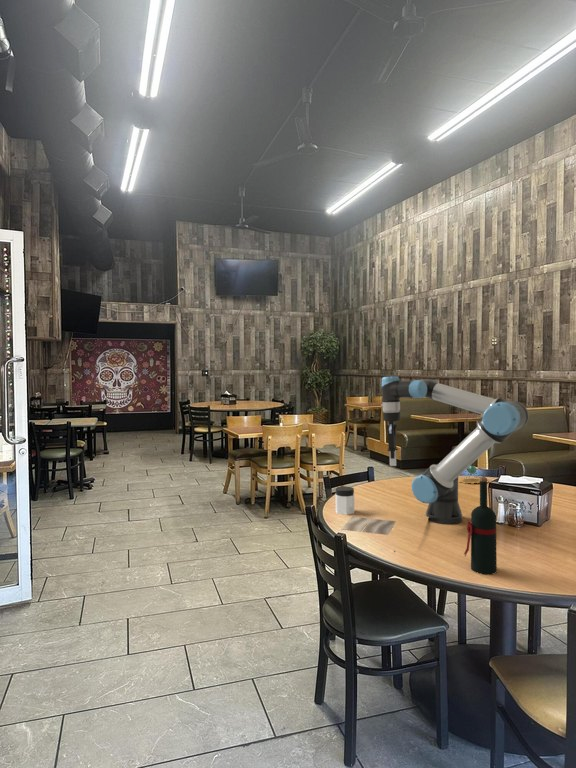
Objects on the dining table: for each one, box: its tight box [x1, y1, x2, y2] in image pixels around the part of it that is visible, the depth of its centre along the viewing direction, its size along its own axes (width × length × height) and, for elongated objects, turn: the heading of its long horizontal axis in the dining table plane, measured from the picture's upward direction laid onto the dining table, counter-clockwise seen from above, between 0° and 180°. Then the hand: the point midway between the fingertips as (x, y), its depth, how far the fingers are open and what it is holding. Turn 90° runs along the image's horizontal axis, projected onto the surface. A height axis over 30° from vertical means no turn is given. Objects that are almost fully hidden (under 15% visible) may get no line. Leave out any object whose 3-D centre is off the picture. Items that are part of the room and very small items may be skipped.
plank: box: [341, 515, 371, 533], centre depth 202 cm, size 8×18×1 cm, turn 158°
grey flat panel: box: [361, 518, 397, 536], centre depth 200 cm, size 23×20×1 cm
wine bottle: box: [463, 476, 498, 575], centre depth 157 cm, size 8×10×30 cm
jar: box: [334, 485, 355, 516], centre depth 219 cm, size 9×8×12 cm
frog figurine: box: [460, 462, 490, 485], centre depth 278 cm, size 10×18×15 cm, turn 80°
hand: (393, 465), depth 212 cm, fingers closed
